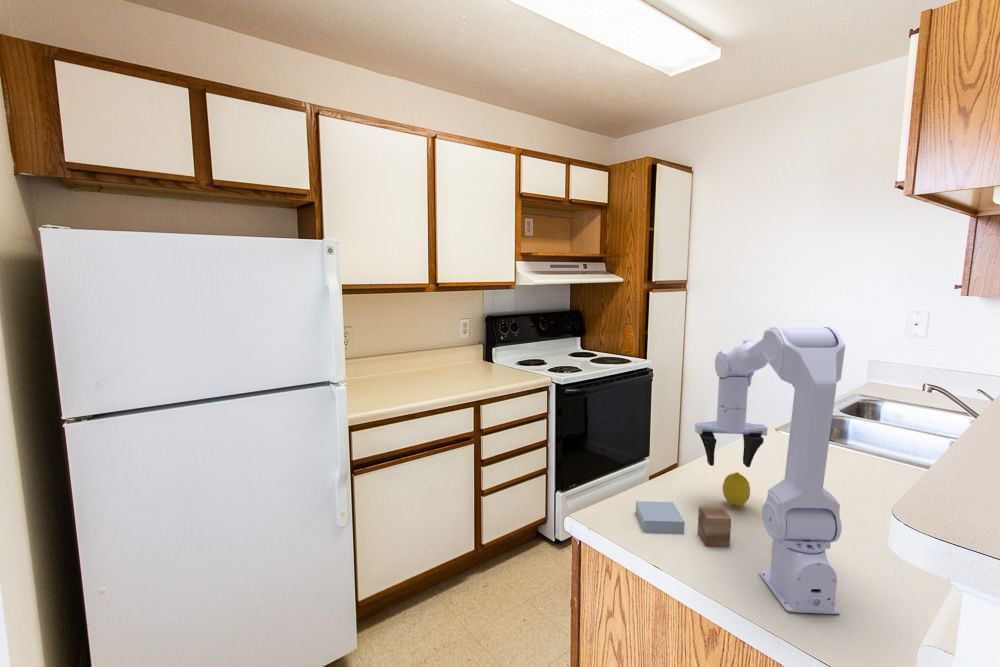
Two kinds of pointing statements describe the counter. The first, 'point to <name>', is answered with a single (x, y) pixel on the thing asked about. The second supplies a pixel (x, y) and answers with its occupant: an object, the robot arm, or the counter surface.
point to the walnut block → (714, 526)
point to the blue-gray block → (659, 517)
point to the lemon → (736, 489)
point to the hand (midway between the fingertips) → (728, 464)
